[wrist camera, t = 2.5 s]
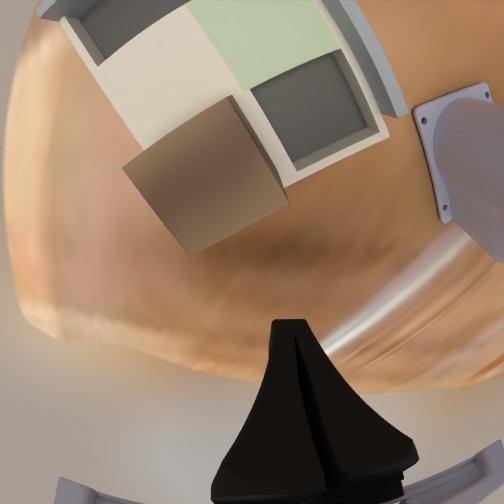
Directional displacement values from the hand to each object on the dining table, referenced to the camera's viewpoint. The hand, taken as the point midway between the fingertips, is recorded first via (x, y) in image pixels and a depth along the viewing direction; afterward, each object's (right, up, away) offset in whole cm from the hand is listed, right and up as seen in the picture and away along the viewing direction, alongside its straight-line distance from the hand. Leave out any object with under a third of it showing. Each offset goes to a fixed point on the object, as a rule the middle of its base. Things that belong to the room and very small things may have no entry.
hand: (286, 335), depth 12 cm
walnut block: (-3, +9, +3) cm, 10 cm away
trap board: (-3, +15, +2) cm, 15 cm away
